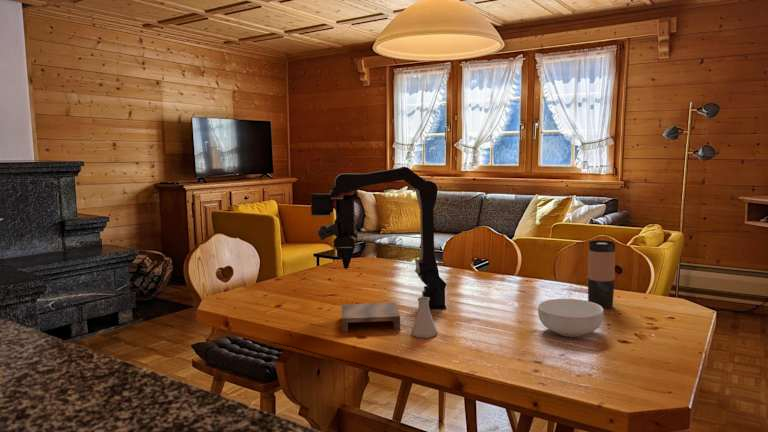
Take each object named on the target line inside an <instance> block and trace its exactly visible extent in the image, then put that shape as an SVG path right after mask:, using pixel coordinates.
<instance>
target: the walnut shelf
mask: <svg viewBox="0 0 768 432" xmlns="http://www.w3.org/2000/svg"><path fill="white" fill-rule="evenodd" d="M372 322H373V323H374V322H391V323H392V325H393V326H392V327H393V330H394V331H395V332H396V331H397V332H398V331H401V315H400V312H399V309H398V306H397V302H372V303H371V302H369V303H351V304H350V303H347V304H346V303H345V304H341V333H345V334H346V333H347V334H348V333H349V323H372Z"/></svg>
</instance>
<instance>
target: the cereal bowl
mask: <svg viewBox="0 0 768 432" xmlns="http://www.w3.org/2000/svg"><path fill="white" fill-rule="evenodd" d="M537 306H538V307H537V313H538V317H539V321H540V322H541V324H542V325H543V326H544V327H546V329H548V330H549V331H550V330H551V332H552V331H553V332H555V333H556V334H557V333H558V335H559V334H560V336H562V337H563V336H564V337H568V336H569V337H571V338H572V337H573V338H574V337H575V338H576V337H577V338H578V337H583V336H585V335H587V334H589V333H593V332H594V331H597V330H598V328H600V327H601V325H602V324H603V320H604V314H605V313H604V311H605V309H603V308H602V307H601V306H600V305H598V304H596V303H593V302H589V301H588V300H584V299H583V300H582V299H576V298H555V299H553V298H552V299H548V300H544V301H540V303H539V304H538V305H537Z"/></svg>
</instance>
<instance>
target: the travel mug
mask: <svg viewBox="0 0 768 432" xmlns="http://www.w3.org/2000/svg"><path fill="white" fill-rule="evenodd" d="M587 263H588V264H587V265H588V268H587V270H588V271H587V291H588V292H587V301H589V302H593V303H596V304H598V305H600V306H601V307H602V308H603V310H608V309H609V310H610V309H612V308H613V306H614V293H615V292H614V291H615V273H616V272H615V269H616V265H615V263H616V242H614V241H611V240H599V239H598V240H597V239H596V240H590V241H589V242H588V262H587Z"/></svg>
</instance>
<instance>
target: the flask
mask: <svg viewBox="0 0 768 432" xmlns="http://www.w3.org/2000/svg"><path fill="white" fill-rule="evenodd" d="M429 300H430V298H428V297H422V296H420V297H417V301H418V308H417V314H416V317H415V321H414V323H413V325H412V328H411V332H410V336H411V337H416V338H420V339H430V338H432V337H436V336H437V335H438V330H437V326H436V325H435V322H434V321H435V320H434V319H433V316H432V313H431V309H429Z"/></svg>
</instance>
